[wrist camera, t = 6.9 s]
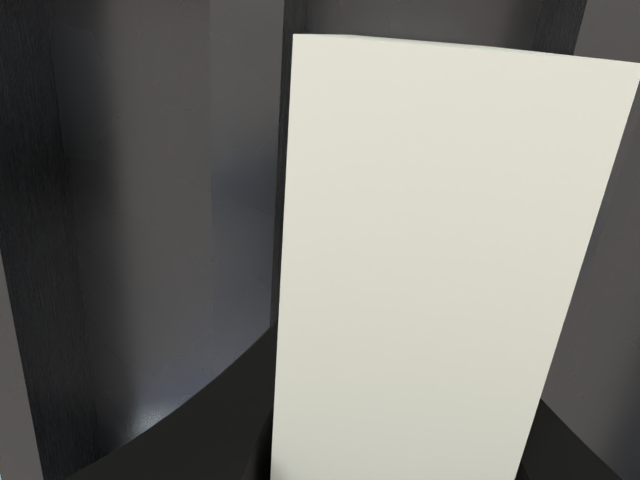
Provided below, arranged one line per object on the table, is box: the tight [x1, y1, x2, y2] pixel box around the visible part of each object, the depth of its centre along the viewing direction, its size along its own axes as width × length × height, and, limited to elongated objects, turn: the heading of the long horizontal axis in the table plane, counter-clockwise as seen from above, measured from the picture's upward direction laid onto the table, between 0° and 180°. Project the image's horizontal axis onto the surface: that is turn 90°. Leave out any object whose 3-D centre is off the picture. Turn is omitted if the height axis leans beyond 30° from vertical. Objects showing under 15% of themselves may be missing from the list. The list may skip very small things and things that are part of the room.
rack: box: [0, 0, 640, 480], centre depth 11 cm, size 19×21×4 cm
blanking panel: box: [270, 34, 640, 480], centre depth 9 cm, size 12×2×7 cm, turn 175°
